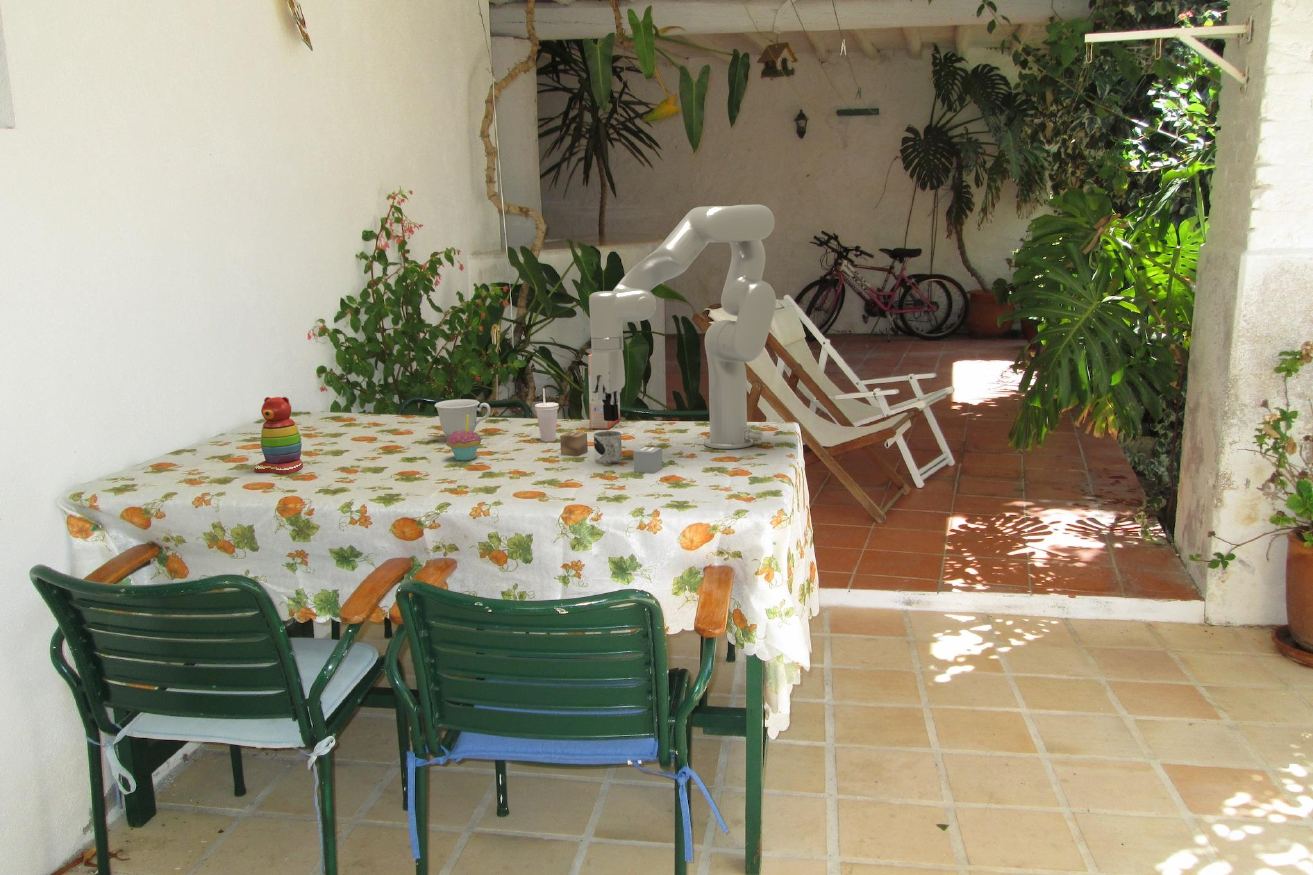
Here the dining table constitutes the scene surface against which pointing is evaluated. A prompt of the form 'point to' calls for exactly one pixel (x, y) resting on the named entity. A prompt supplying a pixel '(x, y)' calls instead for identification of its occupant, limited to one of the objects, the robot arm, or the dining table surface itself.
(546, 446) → the dining table surface
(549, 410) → the smoothie
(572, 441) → the walnut number block
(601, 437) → the mug
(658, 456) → the slate number block
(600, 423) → the cracker box
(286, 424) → the stacking bear
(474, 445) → the cupcake
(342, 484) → the dining table surface
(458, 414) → the teacup
